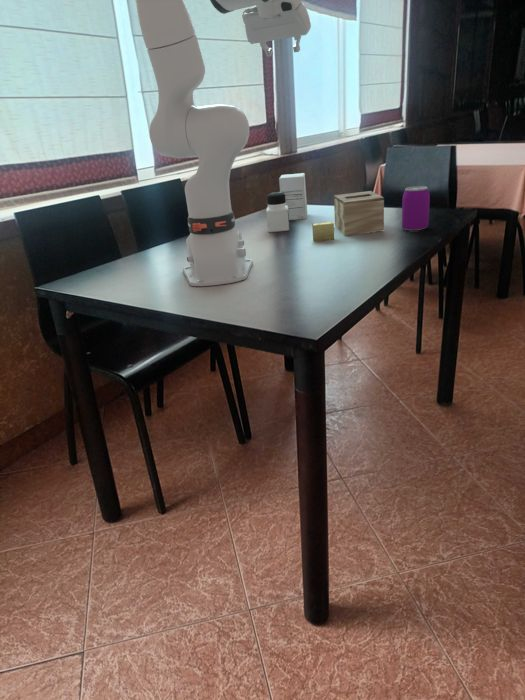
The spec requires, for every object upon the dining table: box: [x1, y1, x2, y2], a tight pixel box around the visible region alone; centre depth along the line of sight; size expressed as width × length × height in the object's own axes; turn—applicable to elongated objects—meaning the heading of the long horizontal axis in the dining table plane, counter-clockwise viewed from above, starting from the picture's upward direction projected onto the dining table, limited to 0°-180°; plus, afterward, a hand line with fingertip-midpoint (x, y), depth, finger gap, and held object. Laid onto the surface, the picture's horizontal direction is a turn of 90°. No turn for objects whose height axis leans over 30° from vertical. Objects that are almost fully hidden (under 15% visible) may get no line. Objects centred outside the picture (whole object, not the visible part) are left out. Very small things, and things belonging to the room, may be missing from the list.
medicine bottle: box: [266, 191, 291, 233], centre depth 165 cm, size 7×7×12 cm
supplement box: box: [278, 172, 308, 221], centre depth 180 cm, size 9×9×15 cm
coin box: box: [333, 190, 385, 237], centre depth 154 cm, size 14×12×10 cm
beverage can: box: [401, 185, 431, 231], centre depth 146 cm, size 8×8×12 cm
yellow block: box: [311, 221, 335, 243], centre depth 147 cm, size 2×6×5 cm, turn 95°
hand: (283, 53), depth 154 cm, fingers open, 8 cm apart
